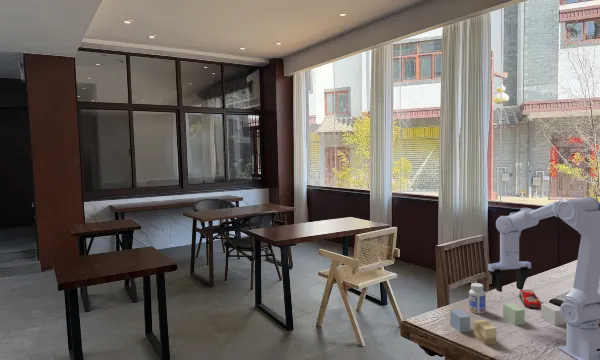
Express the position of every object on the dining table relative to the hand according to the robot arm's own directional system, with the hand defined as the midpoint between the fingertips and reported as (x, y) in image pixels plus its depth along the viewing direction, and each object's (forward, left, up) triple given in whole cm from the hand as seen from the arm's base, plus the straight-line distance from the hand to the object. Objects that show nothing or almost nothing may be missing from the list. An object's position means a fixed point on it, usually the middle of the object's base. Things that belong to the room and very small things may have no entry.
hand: (509, 290), depth 134 cm
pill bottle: (+8, +7, -10) cm, 15 cm away
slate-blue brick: (-3, +20, -10) cm, 22 cm away
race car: (+11, -16, -11) cm, 22 cm away
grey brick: (-5, -12, -10) cm, 17 cm away
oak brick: (-12, +17, -10) cm, 23 cm away
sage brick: (-2, 0, -10) cm, 10 cm away
